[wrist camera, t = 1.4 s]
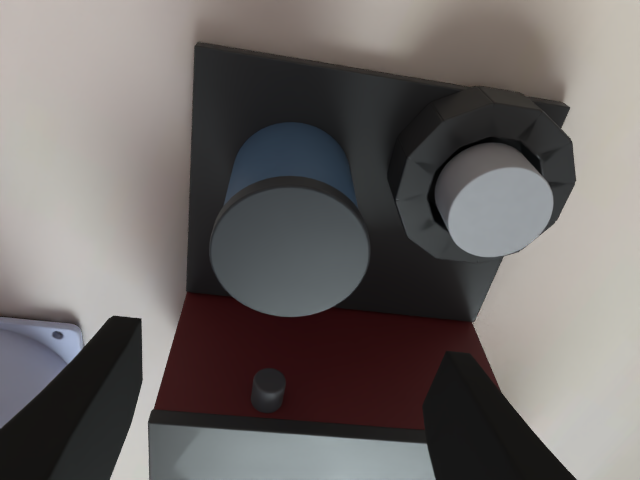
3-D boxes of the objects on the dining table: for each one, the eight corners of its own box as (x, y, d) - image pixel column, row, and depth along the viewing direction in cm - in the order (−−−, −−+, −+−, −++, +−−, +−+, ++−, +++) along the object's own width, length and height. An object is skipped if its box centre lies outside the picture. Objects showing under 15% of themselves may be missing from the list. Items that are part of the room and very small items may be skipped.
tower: (188, 266, 23) (147, 401, 17) (478, 298, 25) (541, 432, 19) (185, 347, 26) (149, 489, 20) (446, 371, 28) (491, 509, 21)
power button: (451, 134, 18) (467, 159, 16) (546, 149, 18) (572, 174, 17) (422, 221, 20) (434, 251, 18) (509, 232, 20) (529, 263, 18)
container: (224, 223, 21) (205, 310, 17) (233, 108, 19) (213, 174, 14) (340, 237, 22) (352, 324, 17) (366, 128, 19) (388, 197, 15)
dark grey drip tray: (197, 34, 18) (183, 52, 16) (572, 96, 20) (607, 120, 17) (188, 284, 24) (177, 322, 22) (475, 315, 26) (492, 353, 23)
